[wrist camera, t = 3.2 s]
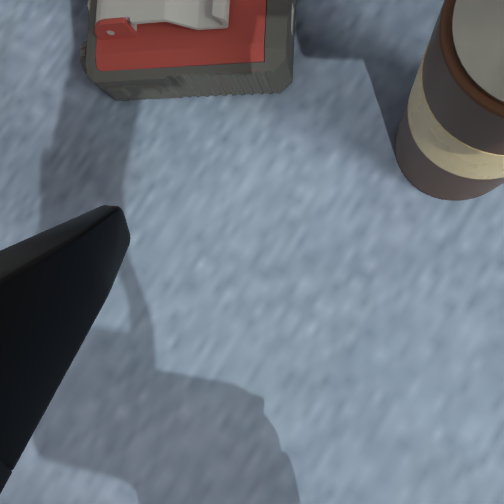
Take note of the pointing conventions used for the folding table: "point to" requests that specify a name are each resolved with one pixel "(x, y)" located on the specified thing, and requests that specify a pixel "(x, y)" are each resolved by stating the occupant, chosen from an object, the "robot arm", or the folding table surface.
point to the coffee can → (457, 105)
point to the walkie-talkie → (189, 47)
